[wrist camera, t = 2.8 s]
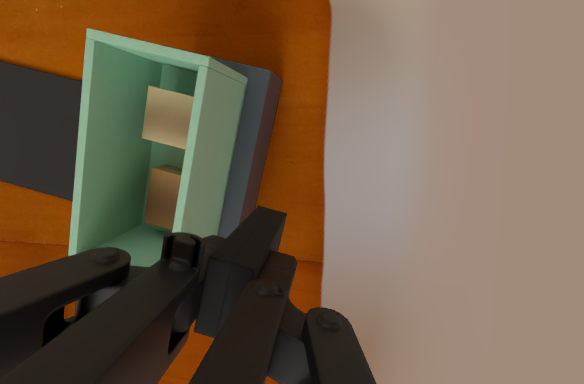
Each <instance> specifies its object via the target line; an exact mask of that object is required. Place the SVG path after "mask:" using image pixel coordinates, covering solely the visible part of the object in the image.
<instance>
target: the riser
mask: <svg viewBox="0 0 584 384" xmlns="http://www.w3.org/2000/svg"><path fill="white" fill-rule="evenodd" d="M162 46H164V45H162ZM166 47H168V46H166ZM171 48H172V47H171ZM175 49H177V48H175ZM179 50H181V49H179ZM183 51H185V50H183ZM188 52H190V51H188ZM192 53H194V52H192ZM196 54H198V53H196ZM201 55H202V54H201ZM205 56H207V55H205ZM209 57H211V56H209ZM211 58H213V59H215V60H216V61H218V62H220V63H222V64H224V65H225V66H227V67H229V68H231V69H233V70H234V71H236V72H238V73H240V74H242V75H244V76H245V77H247V78H248V81H247V87H246V92H245V97H244V102H243V107H242V112H241V117H240V122H239V127H238V133H237V138H236V143H235V148H234V153H233V158H232V163H231V168H230V174H229V179H228V184H227V189H226V194H225V199H224V204H223V209H222V215H221V220H220V225H219V230H218V235H217V236H219V237H223V238H227V237H228V236H229V235H230V234H231V233H232V232H233V231H234V230H235V229H236V228H237V227H238V226H239V225H240V224H241V223H242V222H243V221H244V220H245V219H246V218H247V217H248V216H249V215H250V214H251V213H252V212H253V211H254V210H255V205H256V201H257V196H258V192H259V187H260V183H261V178H262V174H263V169H264V164H265V160H266V155H267V151H268V146H269V142H270V137H271V133H272V128H273V123H274V119H275V114H276V110H277V105H278V101H279V96H280V92H281V87H282V82H283V80H281V79H280V78H279V77H278V76H277V75H276V74H274V73H273V72H272V71H271V70H267V69H262V68H258V67H254V66H249V65H245V64H241V63H237V62H232V61H228V60H224V59H219V58H215V57H211Z"/></svg>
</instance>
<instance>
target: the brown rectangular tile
mask: <svg viewBox="0 0 584 384" xmlns="http://www.w3.org/2000/svg"><path fill="white" fill-rule="evenodd" d="M181 174H182V169H181V168H177V167H174V166H170V165H162V166H158V167H153V168H152V169H151V176H150V183H149V191H148V198H147V205H146V213H145V220H144V222H145V223H148V224H151V225H155V226H158V227H162V228H165V229H169V230H172V231H173V224H174V218H175V212H176V206H177V199H178V193H179V187H180V181H181Z"/></svg>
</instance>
